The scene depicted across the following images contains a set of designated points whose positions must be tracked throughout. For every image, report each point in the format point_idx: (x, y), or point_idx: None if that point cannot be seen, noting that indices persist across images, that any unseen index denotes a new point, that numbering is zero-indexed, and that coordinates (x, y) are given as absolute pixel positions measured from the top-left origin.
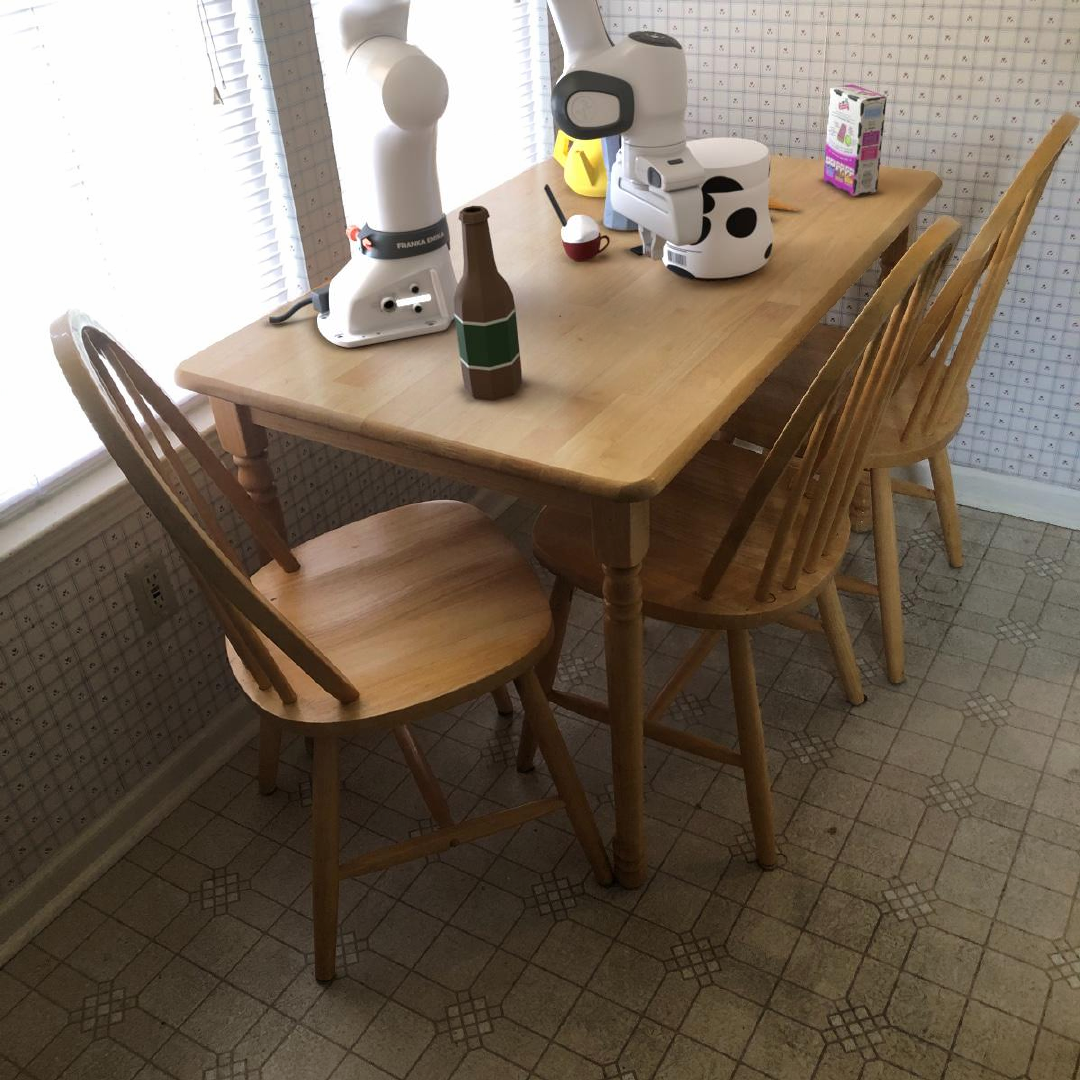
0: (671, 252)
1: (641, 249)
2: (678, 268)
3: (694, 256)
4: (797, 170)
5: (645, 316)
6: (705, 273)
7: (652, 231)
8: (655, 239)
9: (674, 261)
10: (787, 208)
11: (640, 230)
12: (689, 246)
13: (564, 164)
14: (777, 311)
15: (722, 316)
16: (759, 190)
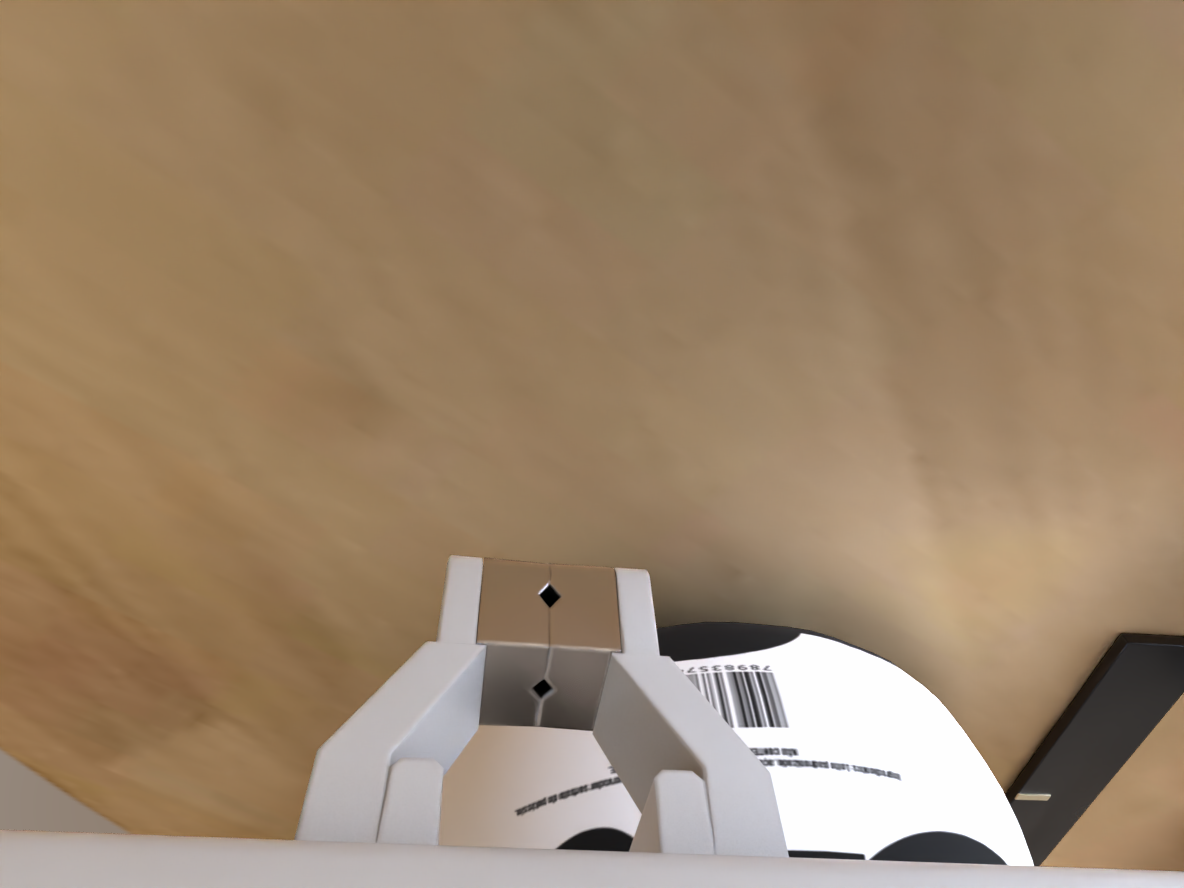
0: (741, 721)
1: (1150, 671)
2: (671, 652)
3: (554, 765)
4: None
5: (408, 194)
6: None
7: (240, 853)
8: (323, 756)
9: (705, 678)
10: None
11: (719, 777)
12: (597, 816)
13: None
14: (82, 695)
15: (147, 517)
16: None
